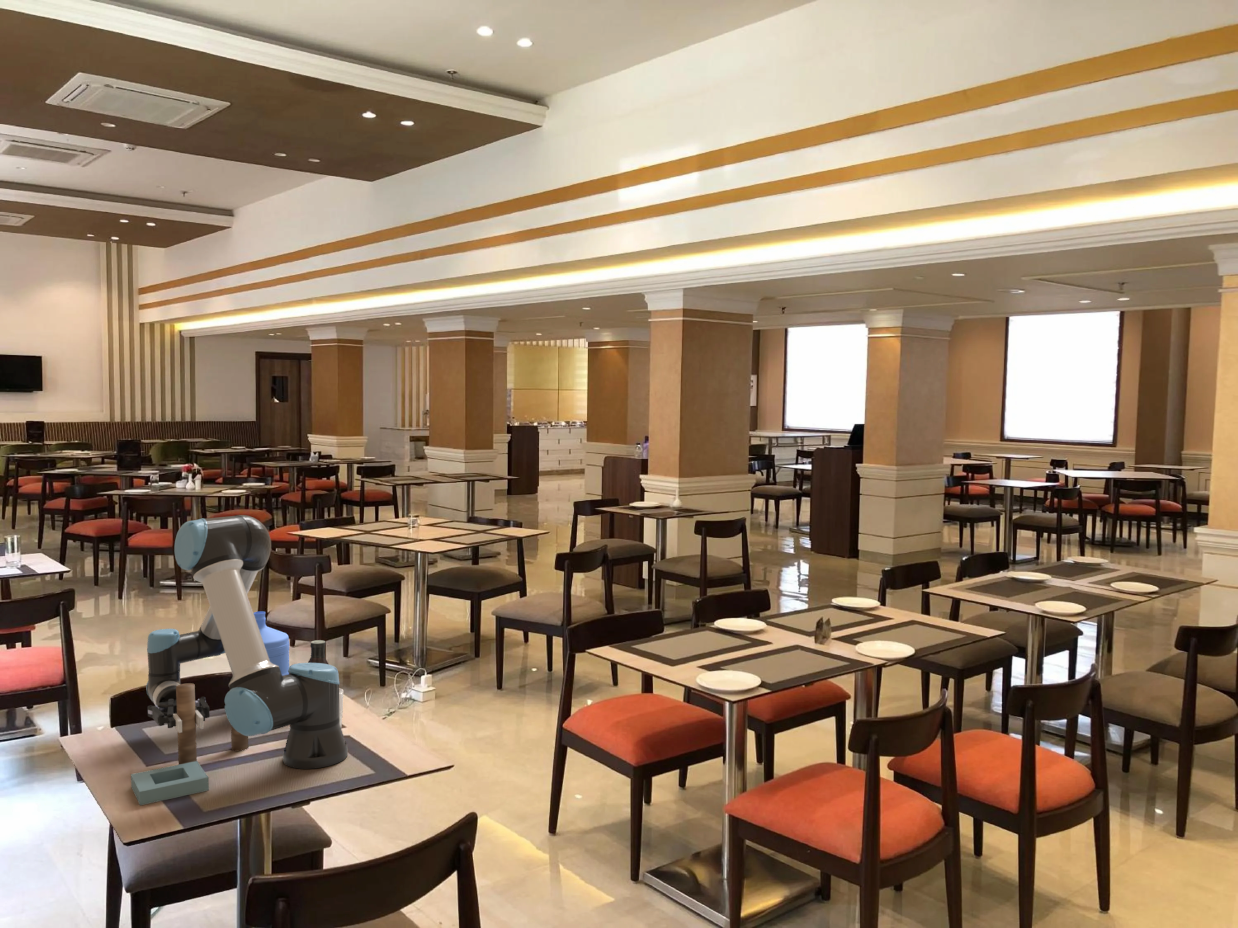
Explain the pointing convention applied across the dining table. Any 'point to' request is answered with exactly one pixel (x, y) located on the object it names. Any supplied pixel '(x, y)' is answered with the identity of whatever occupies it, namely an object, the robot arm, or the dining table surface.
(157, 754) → the dining table surface
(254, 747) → the dining table surface
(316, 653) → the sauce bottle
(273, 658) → the water jug
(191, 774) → the hollow square block
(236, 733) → the short peg
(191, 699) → the tall peg
